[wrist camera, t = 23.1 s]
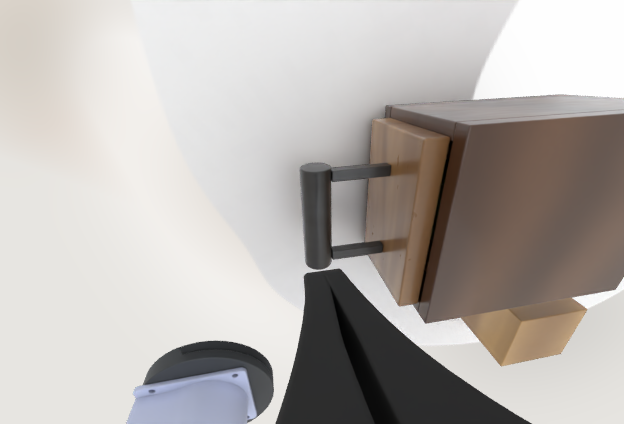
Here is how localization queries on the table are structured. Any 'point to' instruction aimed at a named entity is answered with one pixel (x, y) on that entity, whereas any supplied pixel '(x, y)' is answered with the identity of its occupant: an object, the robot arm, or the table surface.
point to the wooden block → (527, 330)
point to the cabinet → (523, 202)
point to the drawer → (383, 205)
